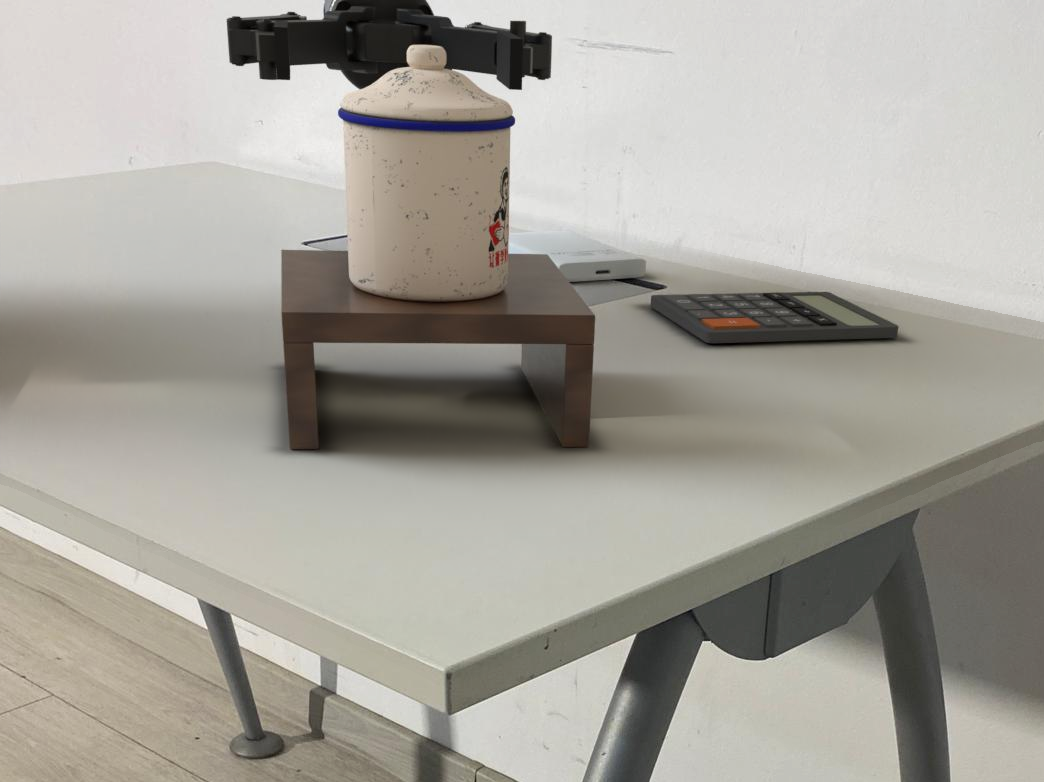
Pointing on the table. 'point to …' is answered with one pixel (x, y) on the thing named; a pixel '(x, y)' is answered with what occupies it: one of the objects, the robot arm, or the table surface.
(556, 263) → the hard drive
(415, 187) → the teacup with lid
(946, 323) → the table surface
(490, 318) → the shelf
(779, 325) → the calculator
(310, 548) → the table surface
